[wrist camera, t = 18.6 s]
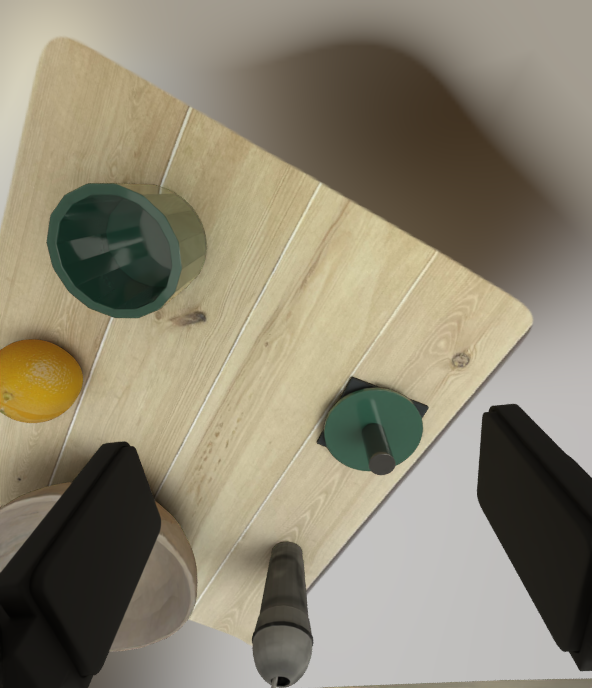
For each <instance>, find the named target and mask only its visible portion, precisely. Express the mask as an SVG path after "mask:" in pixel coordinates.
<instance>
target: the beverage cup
mask: <svg viewBox="0 0 592 688" xmlns="http://www.w3.org/2000/svg"><path fill="white" fill-rule="evenodd" d="M252 643H253V657H254V661H255V665H256V668H257V670H258V672H259V674H260V675H261V677H262V678H263V679H264V680H265V681H266V682H267V683H269V684H270V685H272V686H271V688H276V687H279V688H284V687H289V686H291V685H293V684H295V683H296V682H297V681H298V680H299V679H300V678H301V677H302V676H303V674H304V673H305V671H306V669H307V667H308V664H309V661H310V658H311V654H312V646H313V637H312V634H311V628H310V622H309V618H308V609H307V596H306V584H305V572H304V562H303V556H302V550H301V548H300V547H299V546H298V545H297V544H294V543H291V542H282V543H278V544H277V545H275V546H274V548H273V549H272V555H271V558H270V562H269V567H268V572H267V578H266V583H265V588H264V594H263V599H262V604H261V610H260V615H259V617H258V621H257V624H256V628H255V631H254V633H253V636H252Z"/></svg>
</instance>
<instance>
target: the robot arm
mask: <svg viewBox="0 0 592 688" xmlns="http://www.w3.org/2000/svg"><path fill="white" fill-rule="evenodd" d="M477 497H478V501H479V504H480V506H481V508H482V510H483V512H484V514H485V515H486V517H487V519H488V521H489V523H490V525H491V526H492V528H493V530H494V532H495V534H496V535H497V537H498V539H499V541H500V543H501V544H502V546H503V548H504V550H505V552H506V553H507V555H508V557H509V559H510V561H511V563H512V564H513V566H514V568H515V570H516V572H517V574H518V575H519V577H520V579H521V581H522V582H523V584H524V586H525V588H526V590H527V591H528V593H529V595H530V597H531V599H532V601H533V603H534V604H535V606H536V608H537V610H538V611H539V613H540V615H541V617H542V619H543V620H544V622H545V624H546V626H547V628H548V630H549V631H550V633H551V635H552V637H553V639H554V641H555V642H556V644H557V645H558V647H559V648H560V649H561V650H562V651H564V652H566V651H569V653H570V654H571V656H572V658H573V659H574V661H575V663H576V665H577V667H578V668H579V670H580V671H592V478H591V477H590V476H589V475H588V474H587V473H586V472H585V471H584V470H583V469H582V468H581V467H580V466H579V465H578V464H577V463H576V462H575V461H574V460H573V459H572V458H571V457H570V456H568V455H567V454H566V453H565V452H564V451H563V450H562V449H561V448H560V447H558V445H557V444H556V443H555V442H554V441H553V440H552V439H551V438H550V437H549V436H548V435H547V434H546V433H545V432H544V431H543V430H542V429H541V428H540V427H539V426H538V425H537V424H536V423H535V422H534V421H533V420H532V419H531V418H530V417H529V416H528V415H527V414H526V413H525V412H524V411H523V410H522V409H521V408H520V407H519V406H518V405H517V404H507V405H497V406H491V407H490V409H489V412H485V413H484V414H483V417H482V430H481V443H480V457H479V470H478V485H477ZM160 530H161V517H160V514H159V511H158V508H157V506H156V503H155V500H154V497H153V495H152V492H151V489H150V486H149V484H148V481H147V478H146V475H145V473H144V470H143V467H142V465H141V462H140V459H139V456H138V454H137V451H136V449H135V448H134V447H133V446H130V445H129V444H128V443H127V442H114V443H105V444H103V445H102V446H101V447H100V448H99V449H98V450H97V452H96V453H95V454H94V456H93V457H92V458H91V459H90V461H89V462H88V463H87V464H86V466H85V467H84V468H83V469H82V471H81V472H80V473H79V474H78V476H77V477H76V478H75V479H74V481H73V482H72V483H71V484H70V486H69V487H68V488H67V489H66V491H65V492H64V493H63V495H62V496H61V497H60V498H59V500H58V501H57V502H56V503H55V505H54V506H53V507H52V508H51V510H50V511H49V512H48V513H47V515H46V516H45V517H44V518H43V520H42V521H41V522H40V523H39V525H38V526H37V527H36V528H35V530H34V531H33V532H32V534H31V535H30V536H29V537H28V539H27V540H26V541H25V542H24V544H23V545H22V546H21V547H20V549H19V550H18V551H17V552H16V554H15V555H14V556H13V557H12V559H11V560H10V561H9V562H8V564H7V565H6V566H5V567H4V569H3V570H2V571H1V572H0V688H88V686H89V684H90V682H91V679H92V677H93V675H96V674H97V673H99V671H100V670H101V668H102V666H103V665H104V662H105V660H106V658H107V655H108V653H109V650H110V648H111V646H112V643H113V641H114V639H115V636H116V634H117V632H118V629H119V627H120V625H121V622H122V620H123V618H124V615H125V613H126V610H127V608H128V606H129V603H130V601H131V599H132V596H133V594H134V592H135V589H136V587H137V585H138V582H139V580H140V577H141V575H142V573H143V570H144V568H145V566H146V563H147V561H148V559H149V556H150V554H151V552H152V549H153V547H154V544H155V542H156V540H157V537H158V535H159V533H160ZM325 688H592V679H547V680H546V679H545V680H544V679H543V680H499V681H472V682H447V683H421V684H395V685H370V686H347V687H325Z"/></svg>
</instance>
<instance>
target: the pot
mask: <svg viewBox="0 0 592 688" xmlns="http://www.w3.org/2000/svg"><path fill="white" fill-rule="evenodd" d="M50 216H51V217H50V222H49V229H48V235H47V246H48V250H49V254H50V258H51V262H52V266H53V268H54V270H55V272H56V273H57V275H58V276H59V278H60V279H61V281H62V282H63V284H64V285H65V287H66V288H67V290H68V291H69V292H70V293H71V294H72V295H73V296H75V297H76V298H77V299H78V300H79V301H81V302H82V303H83V304H84V305H86V306H87V307H88V308H91V309H92V310H95V311H98V312H100V313H103V314H106V315H108V316H111V317H114V318H140V317H143V316H145V315H147V314H150V313H152V312H155V311H157V310H159V309H161V308H162V307H163V306H164V305H166V304H167V303H168V302H169V301H170V300H172V299H173V298H174V297H175V296H176V295H178V294H179V293H180V292H181V291H183V290H184V289H185V288H186V287H187V286H188V285H189V284H190V283H191V282H192V281H193V280H194V279H195V278H196V277H197V275H198V274H199V273H200V271H201V269H202V267H203V264H204V261H205V257H206V250H207V245H206V236H205V232H204V228H203V226H202V223H201V221H200V219H199V217H198V215H197V214H196V212H195V211H194V210H193V208H192V207H191V206H190V205H189V204H188V203H187V202H186V201H185V200H184V199H183V198H182V197H180V196H179V195H177V194H176V193H174V192H172V191H170V190H168V189H166V188H163V187H160V186H157V185H154V184H120V183H88V184H85V185H83V186H81V187H79V188H77V189H75V190H73V191H71V192H69V193H68V194H66V195H64V197H63V198H62V199H61V201H60V202H59V204H58V205H57V207H56V208H55V210H54V211H53V212H52V214H51V215H50Z"/></svg>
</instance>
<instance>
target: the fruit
mask: <svg viewBox="0 0 592 688" xmlns="http://www.w3.org/2000/svg"><path fill="white" fill-rule="evenodd" d="M82 385H83V375H82V371H81V368H80V366H79V365H78V363H77V361H76V360H75V359H74V358H73V357H72V356H71V355H70V354H69V353H68V352H66V351H65V350H63V349H62V348H60V347H59V346H57V345H55V344H53V343H50V342H47V341H43V340H36V339H28V340H21V341H17V342H14V343H12V344H10V345H8V346H6V347H4V348H3V349H1V350H0V412H1V413H2V414H4V415H6V416H7V417H9V418H11V419H14V420H17V421H20V422H26V423H39V422H45V421H49V420H52V419H54V418H56V417H58V416H60V415H61V414H63V413H64V412H65V411H66V410H68V409H69V408H70V407H71V406H72V404H73V403H74V402H75V400H76V399H77V397H78V395H79V393H80V391H81V388H82Z"/></svg>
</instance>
